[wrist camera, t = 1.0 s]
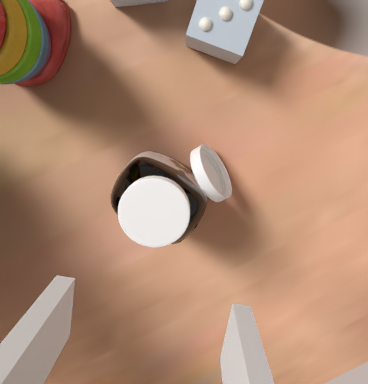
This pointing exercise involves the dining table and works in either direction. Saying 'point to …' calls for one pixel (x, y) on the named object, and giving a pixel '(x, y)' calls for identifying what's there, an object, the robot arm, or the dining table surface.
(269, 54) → the dining table surface
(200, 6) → the pip block three
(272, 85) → the dining table surface
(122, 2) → the pip block two
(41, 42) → the stacking bear
